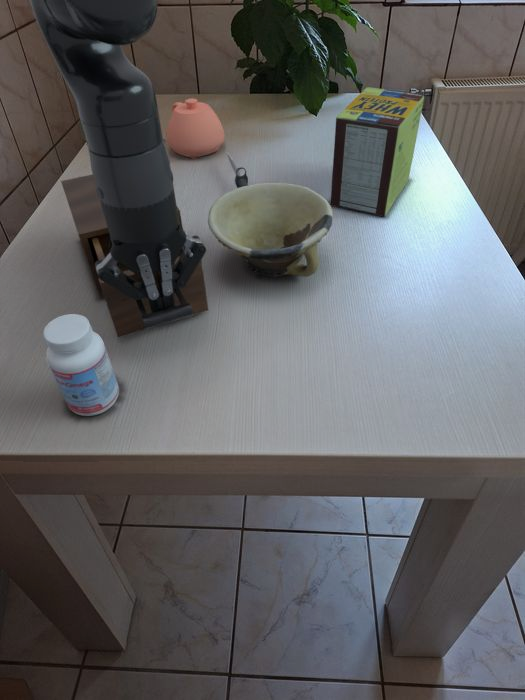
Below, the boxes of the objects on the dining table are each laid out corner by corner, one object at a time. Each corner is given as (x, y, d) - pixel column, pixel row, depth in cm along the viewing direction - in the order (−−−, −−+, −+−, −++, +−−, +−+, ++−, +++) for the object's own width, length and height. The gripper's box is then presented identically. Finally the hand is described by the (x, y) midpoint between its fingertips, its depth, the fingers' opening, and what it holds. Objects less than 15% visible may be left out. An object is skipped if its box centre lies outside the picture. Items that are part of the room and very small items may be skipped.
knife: (221, 163, 101) (220, 139, 97) (233, 162, 101) (231, 138, 98) (246, 214, 89) (245, 189, 85) (258, 212, 89) (258, 187, 85)
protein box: (409, 180, 95) (425, 93, 84) (384, 218, 86) (399, 126, 75) (357, 170, 99) (366, 85, 88) (328, 205, 89) (334, 116, 78)
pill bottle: (58, 413, 58) (23, 344, 50) (84, 375, 62) (54, 305, 54) (106, 422, 56) (77, 353, 48) (129, 382, 61) (106, 313, 53)
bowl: (191, 264, 78) (182, 208, 71) (278, 222, 86) (277, 169, 79) (264, 319, 68) (261, 261, 61) (354, 267, 76) (360, 210, 69)
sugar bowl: (189, 167, 102) (181, 115, 95) (154, 146, 110) (145, 97, 103) (236, 150, 107) (233, 100, 100) (200, 131, 115) (194, 83, 108)
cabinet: (190, 273, 76) (179, 210, 68) (100, 298, 72) (78, 234, 65) (160, 222, 87) (149, 162, 79) (81, 241, 83) (60, 180, 76)
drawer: (222, 334, 65) (215, 279, 59) (126, 364, 61) (109, 309, 55) (176, 252, 79) (166, 200, 72) (96, 273, 75) (78, 221, 69)
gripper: (187, 159, 54) (204, 285, 67) (63, 184, 51) (106, 313, 63) (209, 188, 49) (224, 318, 62) (75, 219, 46) (118, 351, 58)
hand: (164, 315), depth 62 cm, fingers closed
